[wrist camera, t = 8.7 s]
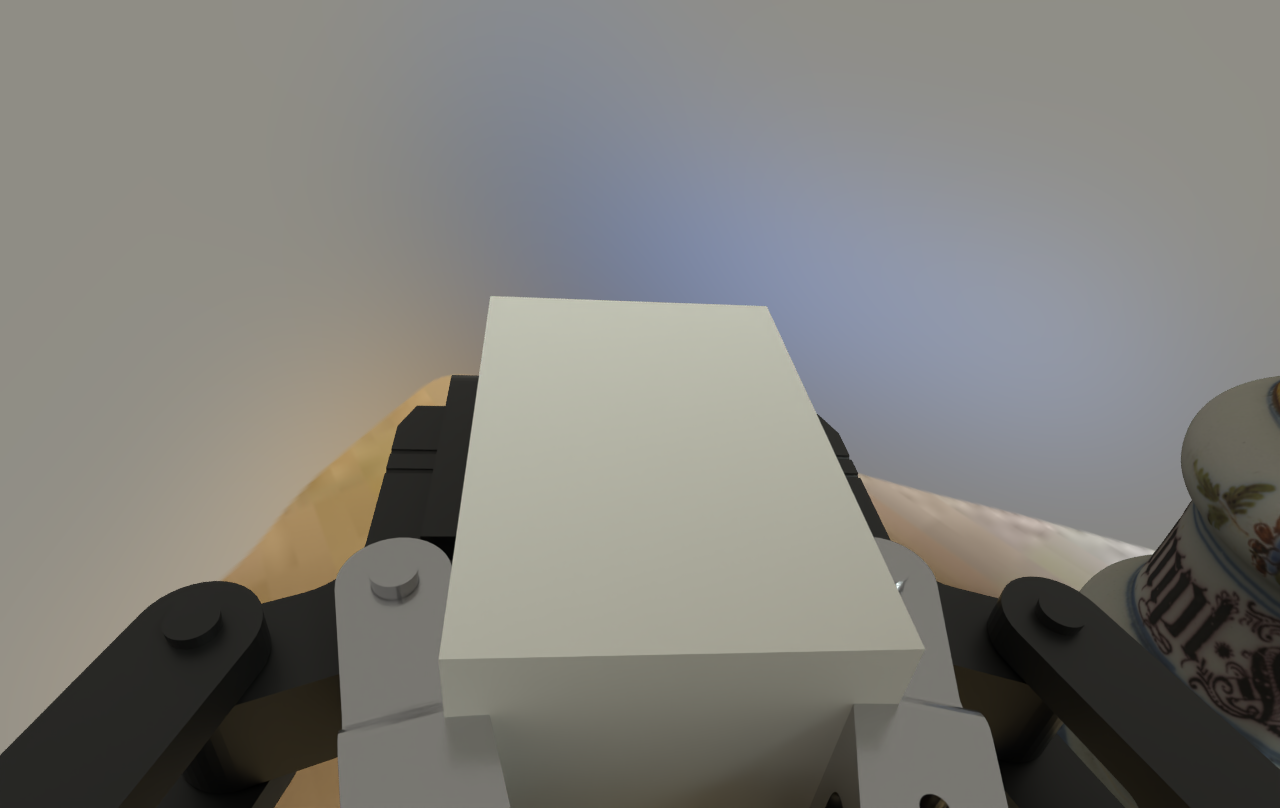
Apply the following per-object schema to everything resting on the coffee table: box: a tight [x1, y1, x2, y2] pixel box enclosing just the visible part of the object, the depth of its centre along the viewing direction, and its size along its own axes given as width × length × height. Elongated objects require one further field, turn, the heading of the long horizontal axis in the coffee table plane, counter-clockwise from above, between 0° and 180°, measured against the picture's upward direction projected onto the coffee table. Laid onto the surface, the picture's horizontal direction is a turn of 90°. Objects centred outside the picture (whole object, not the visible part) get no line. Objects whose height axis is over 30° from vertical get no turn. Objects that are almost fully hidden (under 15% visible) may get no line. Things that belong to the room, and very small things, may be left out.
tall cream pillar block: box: [439, 296, 925, 808], centre depth 12 cm, size 4×6×11 cm, turn 5°
